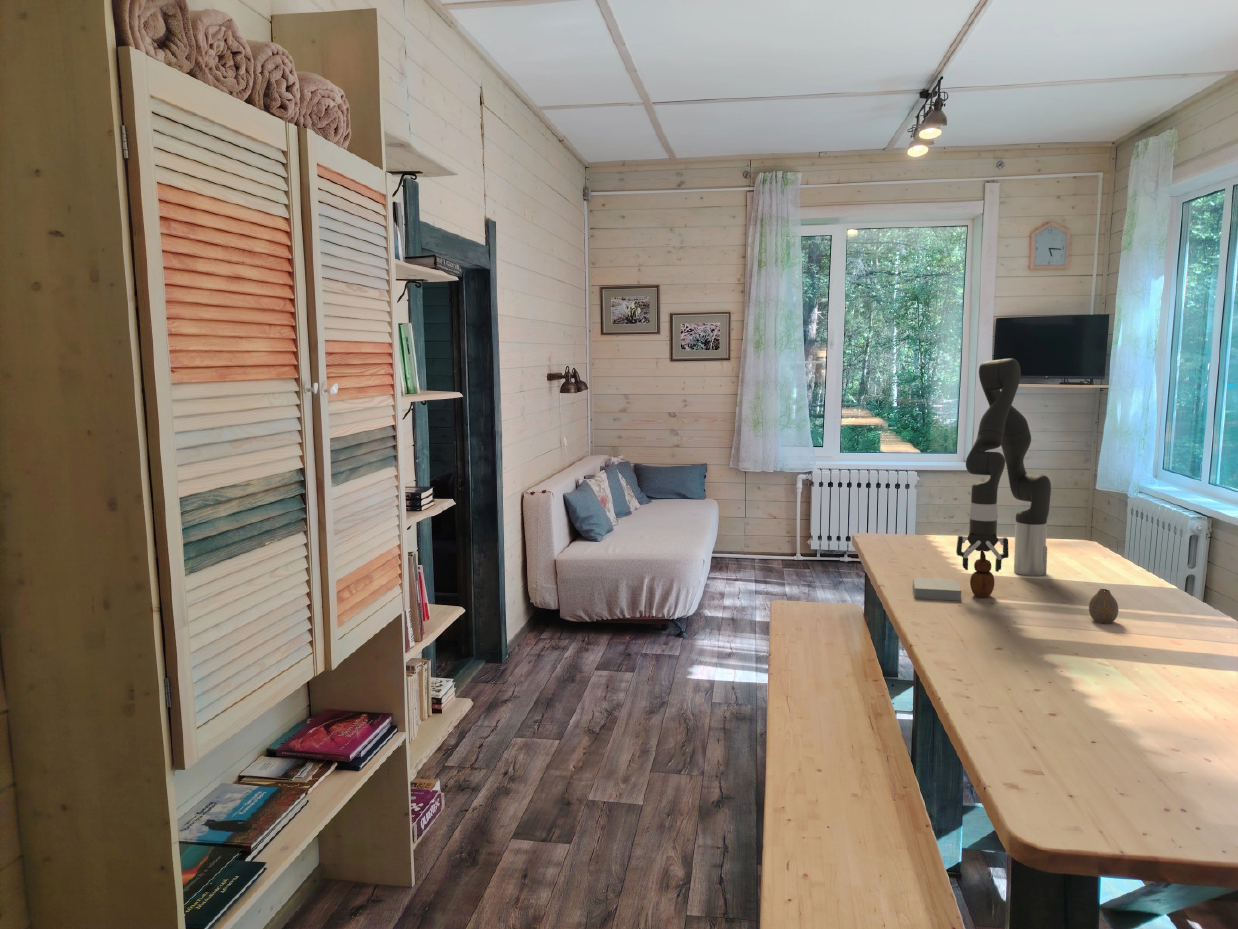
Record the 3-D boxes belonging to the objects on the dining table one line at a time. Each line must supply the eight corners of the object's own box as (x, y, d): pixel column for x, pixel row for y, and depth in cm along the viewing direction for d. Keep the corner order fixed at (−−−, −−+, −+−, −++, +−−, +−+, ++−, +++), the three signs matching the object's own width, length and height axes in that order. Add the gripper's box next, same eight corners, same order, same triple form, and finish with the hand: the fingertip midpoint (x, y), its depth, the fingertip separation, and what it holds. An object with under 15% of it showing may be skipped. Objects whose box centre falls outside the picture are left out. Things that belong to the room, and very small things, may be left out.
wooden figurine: (982, 599, 241) (983, 550, 239) (966, 595, 246) (967, 547, 245) (997, 596, 244) (999, 547, 243) (981, 591, 249) (982, 544, 248)
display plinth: (956, 588, 254) (957, 579, 253) (960, 600, 241) (961, 590, 241) (912, 586, 257) (913, 577, 257) (914, 597, 245) (914, 588, 245)
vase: (1116, 618, 221) (1117, 587, 220) (1119, 626, 215) (1121, 594, 214) (1087, 616, 224) (1088, 585, 223) (1089, 623, 218) (1091, 592, 217)
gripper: (1007, 516, 244) (1005, 568, 246) (956, 514, 248) (955, 566, 250) (1011, 521, 237) (1009, 575, 239) (958, 519, 241) (957, 572, 243)
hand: (981, 570), depth 244 cm, fingers open, 8 cm apart
